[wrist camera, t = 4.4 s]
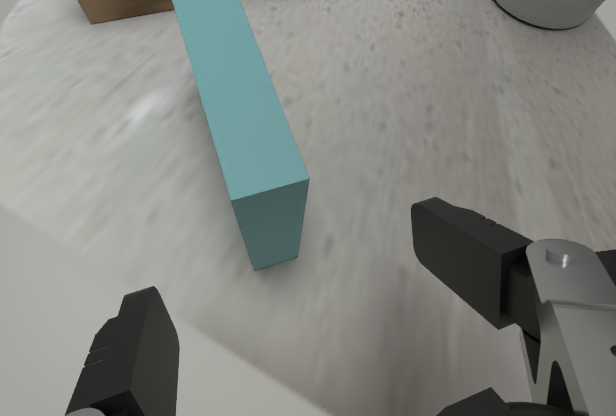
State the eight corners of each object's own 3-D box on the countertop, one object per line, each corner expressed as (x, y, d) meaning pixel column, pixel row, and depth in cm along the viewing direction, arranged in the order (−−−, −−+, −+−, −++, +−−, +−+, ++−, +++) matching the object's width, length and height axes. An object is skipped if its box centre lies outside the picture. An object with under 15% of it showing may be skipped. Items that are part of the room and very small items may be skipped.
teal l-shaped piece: (297, 256, 20) (309, 178, 11) (254, 270, 19) (231, 200, 11) (234, 76, 24) (208, -81, 16) (198, 83, 24) (150, -73, 15)
